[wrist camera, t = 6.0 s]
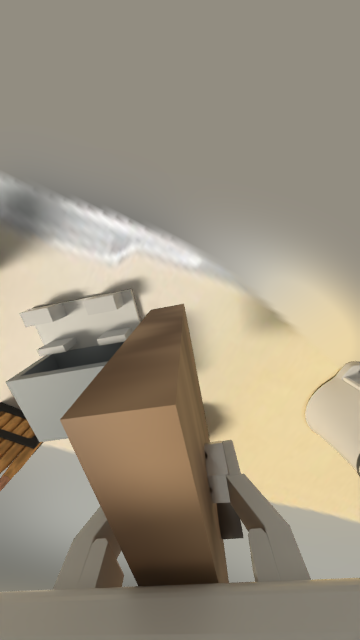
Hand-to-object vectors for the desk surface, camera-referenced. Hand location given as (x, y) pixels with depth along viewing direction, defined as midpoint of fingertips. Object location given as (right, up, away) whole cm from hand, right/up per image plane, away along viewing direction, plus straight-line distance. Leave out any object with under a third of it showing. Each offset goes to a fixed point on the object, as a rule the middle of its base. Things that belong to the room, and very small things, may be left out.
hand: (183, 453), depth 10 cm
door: (0, +2, +5) cm, 6 cm away
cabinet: (-13, +2, +20) cm, 24 cm away
